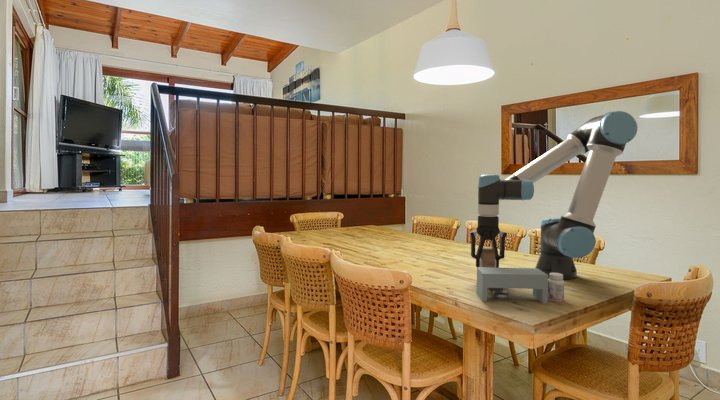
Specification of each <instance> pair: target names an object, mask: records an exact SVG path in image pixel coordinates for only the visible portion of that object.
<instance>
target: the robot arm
mask: <svg viewBox="0 0 720 400" xmlns="http://www.w3.org/2000/svg"><path fill="white" fill-rule="evenodd" d="M637 133H638V123H637V121H636V120H635V118H634V117H633V115H631V114H630V113H628V112H626V111H622V110H617V111H616V110H615V111H609V112H606V113H605V114H602V115H597V116H595V117H592V118H590V119H589V120H587V121H586V122H585V123H583V124H581V125H580V126H579V127H577V128H575V130H574V131H572V132H570V133H569V134H568V135H566V137H567V138H566V139H565V140H563V141H561V142H560V143H559V144H557V145H555V146H554V147H552V148H551V149H549V150H548V151H546V152H544V153H543V154H542V155H540V156H539V157H537V158H536V159H534V160H532V161H531V162H530V163H527V164H526V165H525V166H523V167H521V168H520V169H519V170H517V171H516V172H514V173H513V174H511V175H509V176H508V177H507V178H505V179H501V178H500V175H499V174H481V175H479V177H478V186H477V188H478V191H477V195H478V196H477V197H478V201H477V202H478V203H477V214H478V216H477V227H476V229H475V230H473V231H472V230H471V231H469V236H470V256H471V258H473V259H475V267H476V268H477V267H482V260H481V259H480V257H481V253H482V249H483V247H485V246H484V245H485V244H486V243H485V242H486V241H488V240H489V241H490V243H491V247H492V248H493V249H495V268H500V261H501V260H502V259H503V260H504V259H505V248H506V238H507V235H508V234H507V233H508V232H505V231H502V230H501V229H500V228H499V227H500V226H499V223H500V222H499V221H500V220H499V215H500V211H499V210H500V201H502V200H503V201H504V200H505V201H510V200H511V201H530V200H532V199H533V198H534V194H535V183H536V182H538V181H539V180H541V179H543V178H544V177H546V176H547V175H549V174H550V173H552V172H553V171H555V170H556V169H558V168H560V167H562V166H563V165H565V163H567V162H569V161H571V160H572V159H574V158H576V157H577V156H578V155H581V156H583V155H584V154H586V153H588V154H587V157H586V160H585V162H584V165H583V167H582V170H581V173H580V176H579V180H578V182H577V185H576V188H575V190H574V193H573V196H572V198H571V199H572V200H571V202H570V205H569V207H568V210H567V212H566V213H564V214H562V215H561V216H560V218H543V219H542V220H541V223H540V227H539V228H540V251H539V252H540V253H539V257H538V259H537V262H536V265H535V267H534V268H538V269H539V270H541V271H542V272H544V273H546V274H547V275H548V279H550V278H549V274H550V273H560V274H563V280H573V279H576V278H577V275H578V270H577V268H576V265H575V261H574V259H580V258H585V257H586V256H588V255H590V254H591V253H592V252H593V251H594V249H595V247H596V244H597V243H596V242H597V240H596V236H595V234H594V233H595V229H596V227H597V226H596V224H595V222H594V218H595V215H596V213H597V209H598V208H599V204H600V202H601V199H602V197H603V193H604V191H605V188H606V185H607V182H608V181H609V177H610V175H611V171H612V168H613V166H614V164H615V160H616V158H617V157H618V156H621V155H622V154H623V153H624V151H625V148H626V145H627V143H630V142H631V141H632V140H633V139H634V138H636V135H637ZM477 234H478V236H479V241H478V242H479V243H478V246H477V251H476V237H477ZM498 235H499V251H498V246H497V240H496V238H497V236H498Z"/></svg>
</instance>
